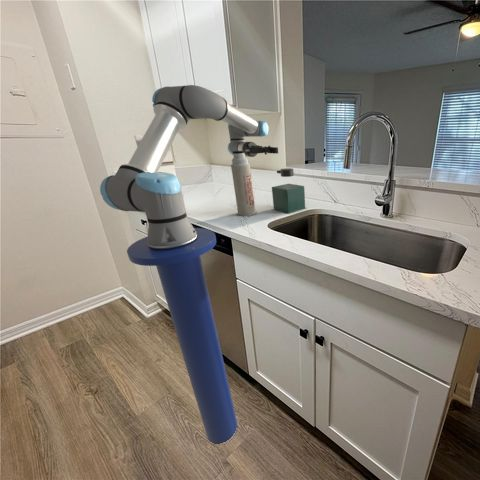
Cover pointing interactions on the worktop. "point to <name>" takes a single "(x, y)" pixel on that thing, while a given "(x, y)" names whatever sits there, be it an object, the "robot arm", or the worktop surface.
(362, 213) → the worktop surface
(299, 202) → the dark teal foam cube
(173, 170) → the display case
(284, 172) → the nozzle
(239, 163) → the thermos bottle
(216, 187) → the worktop surface
